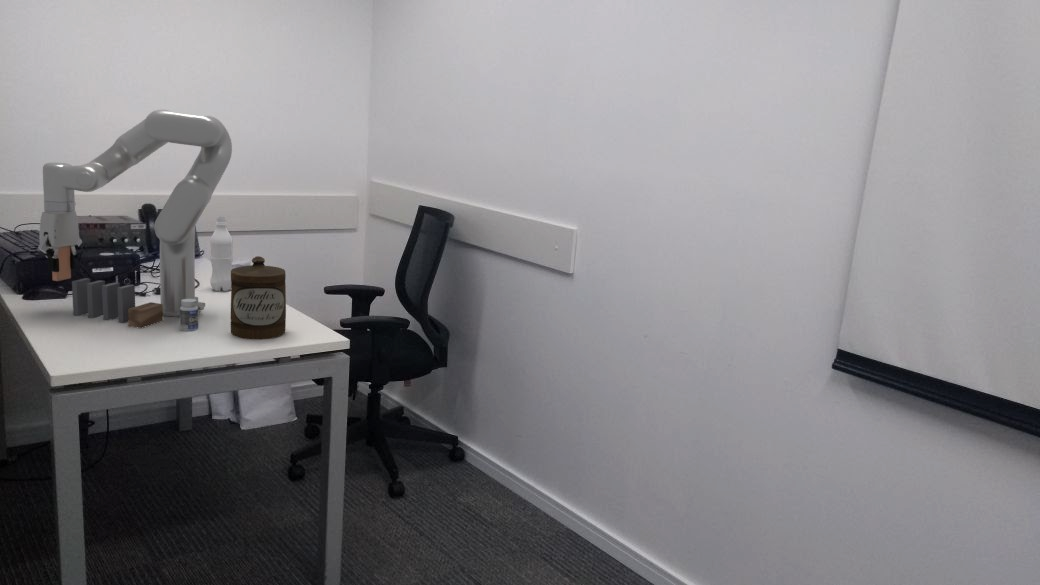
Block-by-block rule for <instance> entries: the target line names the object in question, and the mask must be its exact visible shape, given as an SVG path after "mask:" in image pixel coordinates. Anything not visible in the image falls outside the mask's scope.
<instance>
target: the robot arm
mask: <svg viewBox="0 0 1040 585" xmlns="http://www.w3.org/2000/svg"><path fill="white" fill-rule="evenodd" d="M168 143H170V144H171V143H172V144H177V145H178V144H179V145H184V146H186V145H187V146H193V147H200V151H199V153H198V155H197V157H196V158H195V159H194V162H193V164H192V166H191V167H190V169H189V171H188V172H187V173H186V175H185V177H184V178H183V179H182V180H181V181H179V182H178V183H177V184H176V185H175V187H174V188H173V190H172V192H171V193H170V195H169V197H168V199H167V200H166V202H165V203H164V205H163V207H162V209H161V211H160V212H159V214H158V216H157V218H156V219H155V222H154V227H153V228H154V232H155V235H156V238H158V239H159V283H160V284H159V285H160V286H159V287H160V288H159V289H160V291H159V292H160V304H163V317H165V316H166V317H180V307H181V306H182V305H181V300H183V299H196V300H197V305H196V306H197V307H198V314H199V313H200V312H201V311H203V310H204V309H205V307H206V302H201V301H200V302H199V296H196V282H195V281H196V278H195V277H196V275H195V273H196V272H195V267H196V266H195V261H196V260H195V256H196V255H195V249H196V248H195V246H196V244H195V242H196V241H195V240H196V224H197V222H198V221H199V219H200V217H201V216H202V215H203V212H204V211H205V209H206V207H207V206H208V204H209V203H210V201H211V199H212V195H213V194H214V192H215V190H216V188H217V186H218V184H219V183H220V181H221V179H222V177H223V175H224V173H225V172H226V170H227V168H228V165H229V163H230V161H231V158H232V154H233V153H232V152H233V144H232V139H231V136H230V133H229V131H228V129H227V128H226V126H225V125H224V124H223V123H222V122H221V121H220V120H219V119H218V118H216V117H214V116H211V115H194V114H188V113H181V112H180V113H179V112H173V111H170V110H169V109H157V110H153V111H151V112H149V113H148V115H147V116H146V118H144V119H143V120H141V121H140V122H139V123H138V124H136V125H134V126H133V127H132V128H130V129H128V130H127V131H126V132H124V133H123V134H121V135H120V136H118V137H117V138H116V140H115V141H114V143H113V145H111V146H110V147H109V148H108V149H106V150H105V151H103V152H102V153H101V154H99V155H98V156H97V157H95V158H94V159H92V160H91V161H89V162H87V163H84V164H80V165H72V164H70V163H66V162H45V163H44V164H43V165H42V187H43V188H42V190H43V211H42V212H41V216H40V220H39V221H40V222H39V236H38V238H39V245H38V247H37V248H38V250H40V251H41V252H42V253H43V254H44V255H45V257H46V258H47V266H48V267H47V268H48V269H47V270H48V272H51V273H52V272H59V258H57V254H58V249H59V248H60V247H67V246H69V247H70V269H71V270H75V268H76V265H75V263H76V262H75V256H76V255H77V251H78V249H79V247H80V246H81V245H82V244H83V240H82V239H81V237H80V228H79V220H78V219H79V218H78V215H77V212H76V204H77V203H76V201H75V191H79V192H82V193H83V192H85V193H90V192H94V191H97V190H98V189H101V188H103V187H105V186H106V185H107V184H108V183H111V181H113V180H115V179H116V178H117V177H119V176H120V175H121V174H123V173H125V172H126V171H127V170H128V169H131V167H133V166H136V165H138V164H140V162H142V161H143V160H145V159H146V158H148V157H150V156H151V155H152V154H153V153H155V152H156V151H158V150H160V149H161V148H162V147H164V146H165V145H166V144H168ZM51 246H52V247H51ZM51 249H53V252H52V251H51Z"/></svg>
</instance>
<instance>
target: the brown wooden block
mask: <svg viewBox="0 0 1040 585" xmlns="http://www.w3.org/2000/svg"><path fill="white" fill-rule="evenodd" d="M128 314H129V321H128V327H133V328H137V327H138V328H139V329H143V328H145V326H146V327H149V326H152V325H155V324H157V322H158V323H160V321H161V322H163V321H164V315H163V304H161V303H157V302H146V303H144V304H140V305H137V306H136V305H135V307H133V308H130V309H128ZM154 323H155V324H154ZM151 324H152V325H151ZM148 325H149V326H148ZM142 327H143V328H142Z"/></svg>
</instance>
